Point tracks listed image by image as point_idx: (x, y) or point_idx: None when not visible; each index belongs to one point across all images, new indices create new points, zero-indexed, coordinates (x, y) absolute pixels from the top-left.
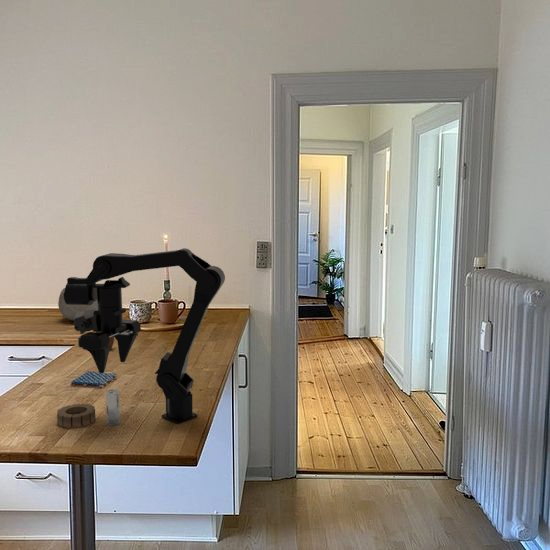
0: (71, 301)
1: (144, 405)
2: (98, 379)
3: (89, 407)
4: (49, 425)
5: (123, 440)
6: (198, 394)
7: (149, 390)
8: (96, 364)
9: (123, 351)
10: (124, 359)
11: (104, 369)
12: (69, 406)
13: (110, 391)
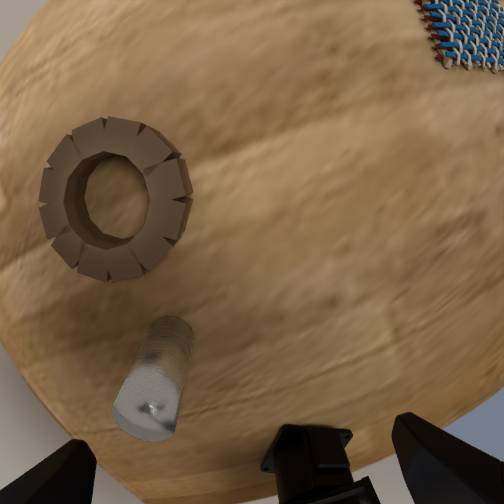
0: None
1: (361, 327)
2: (471, 29)
3: (156, 229)
4: (53, 143)
5: (108, 414)
6: (463, 388)
7: (480, 247)
8: (24, 478)
9: (435, 500)
10: (398, 457)
11: (87, 484)
12: (123, 135)
13: (136, 413)
